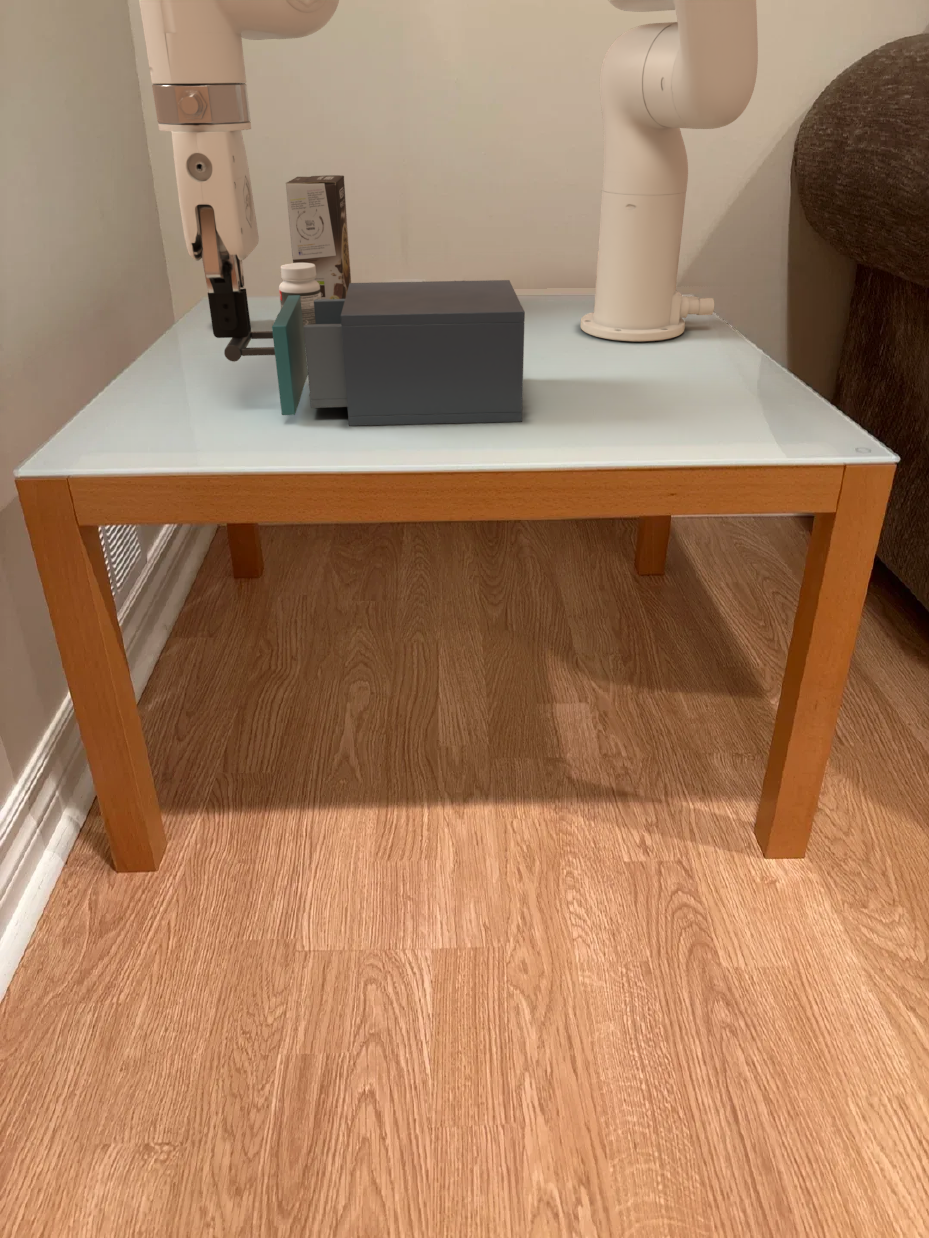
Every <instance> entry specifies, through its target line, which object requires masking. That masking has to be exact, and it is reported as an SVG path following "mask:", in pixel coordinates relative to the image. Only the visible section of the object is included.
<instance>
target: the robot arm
mask: <svg viewBox="0 0 929 1238" xmlns="http://www.w3.org/2000/svg"><path fill="white" fill-rule="evenodd" d="M607 1H608V3H609V4H611V6H613V7H614V8H616V9H618V10H621V11H623V12H633V13H647V12H648V13H649V12H662V11H663V12H665V11H675V15H676V21H671V22H670V21H667V22H655V23H654V22H653V23H646V24H641V25H638V26H635V27H632V28H630V29H628V30H626V31H624V32H622V34H620V35H619V36H617V38H615V40H614V41H613V42H612V43H611V45H610V46H609V47H608V49H607V51H606V52H605V55H604V57H603V59H602V63H601V67H600V72H599V99H600V109H601V110H600V111H601V116H602V117H601V118H602V131H603V164H602V165H603V168H602V183H601V184H602V186H601V195H600V196H601V197H600V210H599V211H600V212H599V213H600V214H599V227H598V228H599V229H598V244H597V245H598V246H597V257H596V258H597V261H596V275H595V289H594V290H595V291H594V305H593V306H594V307H593V311H592V312H588V313H586V314H585V315H583V316H582V317H581V319H580V329H581V330H582V331H583V332H584V333H586V334H587V335H590V336H593V337H596V338H600V339H606V340H612V341H621V342H655V341H656V342H657V341H664V340H669V339H673V338H676V337H679V336H680V335H682V334H683V333H684V332H685V328H686V321H685V320H684V319H686V318H687V317H688V316H689V315H696V316H711V315H713V314H714V311H715V300H714V298H713V297H702V298H701V297H698V296H697V295H696V296H687V295H683V294H682V293H681V292H680V291H678V290H677V289H676V288H677V282H678V281H677V280H678V270H679V262H680V254H681V253H680V252H681V243H682V233H683V226H684V225H683V224H684V216H685V215H684V213H685V205H686V196H687V188H688V179H689V162H688V153H687V149H686V146H685V142H684V138H683V135H682V131H681V129H691V130H712V129H720V128H723V127H726V126H728V125H730V124H732V123H733V122H735V121H736V120H737V119H738V118H739V117H740V116H741V115H742V114H743V113H744V112H745V110H746V108H747V107H748V105H749V103H750V101H751V99H752V96H753V93H754V91H755V87H756V82H757V77H758V64H759V63H758V61H759V53H758V52H759V47H758V46H759V45H758V43H759V42H758V41H759V40H758V39H759V38H758V13H757V12H758V11H757V0H607ZM339 2H340V0H138V3H139V10H140V16H141V23H142V29H143V30H142V31H143V35H144V42H145V49H146V55H147V62H148V67H149V68H148V69H149V74H150V82H151V84H152V85H151V88H152V94H153V100H154V107H155V113H156V119H157V126H158V131H160V132H167V133H171V141H172V143H171V144H172V152H173V157H172V159H173V162H174V171H175V179H176V189H177V195H178V204H179V210H180V215H181V216H180V218H181V225H182V230H183V231H182V232H183V236H184V241H185V246H186V250H187V253H188V255H189V257H190V258H192V260H195V261H197V262H199V261H202V266H203V271H204V277H205V283H206V289H207V297H208V306H209V312H210V320H211V327H212V333H213V336H214V338H217V339H232V338H241V337H247V336H248V335H249V333H250V331H251V332H252V326H251V319H250V309H249V302H248V301H249V300H248V294H247V288H245V275H244V274H245V273H244V266H243V265H244V264H243V261H244V260H246V259H247V258H248V256H249V255H250V254H251V253H252V252H253V251H254V250H255V248H256V247H257V246H258V244H259V240H260V236H259V229H258V223H257V216H256V208H255V203H254V195H253V189H252V183H251V175H250V168H249V163H248V156H247V151H246V146H245V141H244V137H243V131H245V130H246V131H247V130H252V123H251V122H252V121H251V114H250V113H251V112H250V104H249V93H248V86H247V85H248V84H246V83H247V76H246V67H245V59H244V58H245V57H244V48H243V47H244V46H243V41H242V39H245V40H250V41H264V40H291V39H292V40H293V39H298V38H300V39H301V38H305V37H307V36H310V35H312V34H315V33H317V32H318V31H320V30H321V29H322V28H324V27H325V26H326V25H327V24H328V23H329V22H330V20H331V19H332V18H333V16H334V15H335V13H336V11H337V9H338V6H339Z"/></svg>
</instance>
